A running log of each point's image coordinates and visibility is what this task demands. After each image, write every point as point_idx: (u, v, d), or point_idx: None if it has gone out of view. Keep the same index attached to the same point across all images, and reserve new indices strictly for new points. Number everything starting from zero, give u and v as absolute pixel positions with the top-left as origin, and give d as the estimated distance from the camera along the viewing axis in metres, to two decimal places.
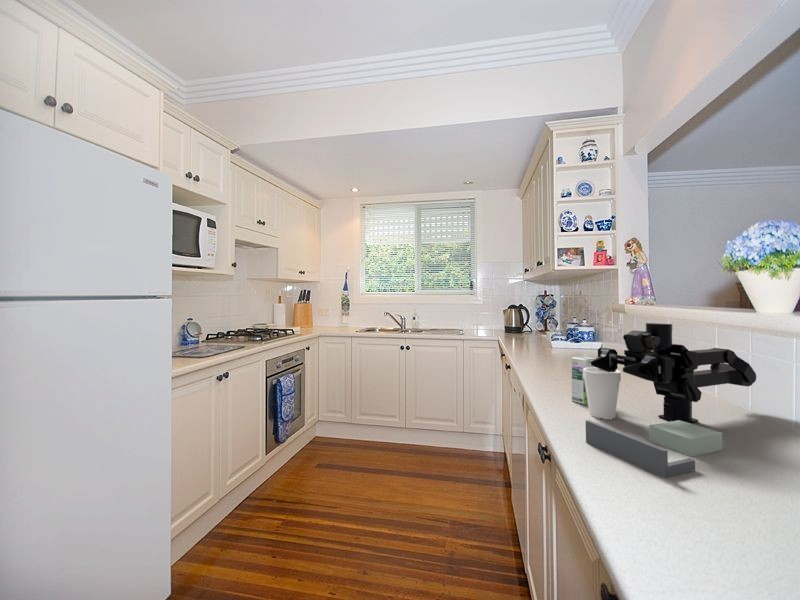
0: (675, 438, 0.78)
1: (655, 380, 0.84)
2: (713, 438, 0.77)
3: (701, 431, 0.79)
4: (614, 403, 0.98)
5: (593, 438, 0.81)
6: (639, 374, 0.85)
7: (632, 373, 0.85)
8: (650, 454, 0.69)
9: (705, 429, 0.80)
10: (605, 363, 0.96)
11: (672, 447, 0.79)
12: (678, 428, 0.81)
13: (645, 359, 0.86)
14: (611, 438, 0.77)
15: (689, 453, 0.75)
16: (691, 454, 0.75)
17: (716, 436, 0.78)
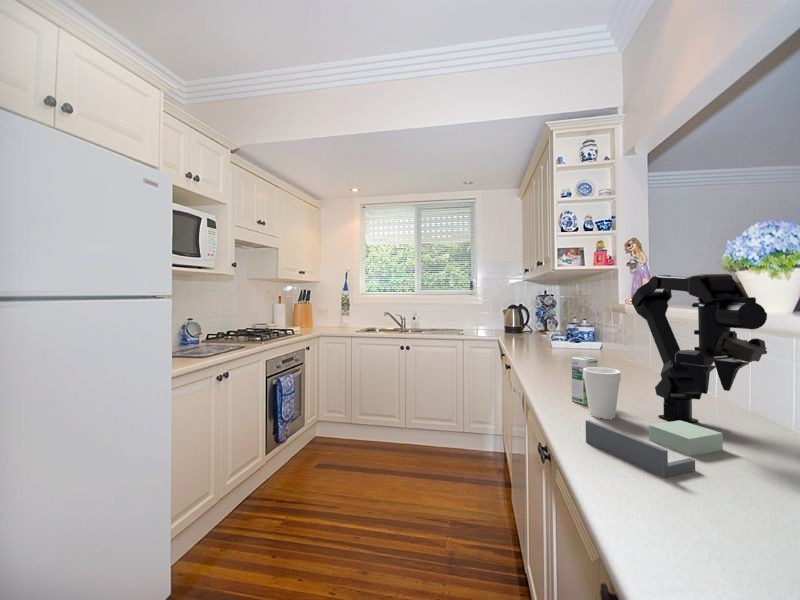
0: (674, 438, 0.78)
1: None
2: (713, 438, 0.77)
3: (701, 431, 0.79)
4: (614, 403, 0.98)
5: (593, 438, 0.81)
6: None
7: None
8: (650, 454, 0.69)
9: (705, 429, 0.80)
10: None
11: (671, 447, 0.79)
12: (678, 428, 0.81)
13: (740, 367, 0.84)
14: (611, 438, 0.77)
15: (688, 453, 0.75)
16: (690, 454, 0.75)
17: (716, 436, 0.78)
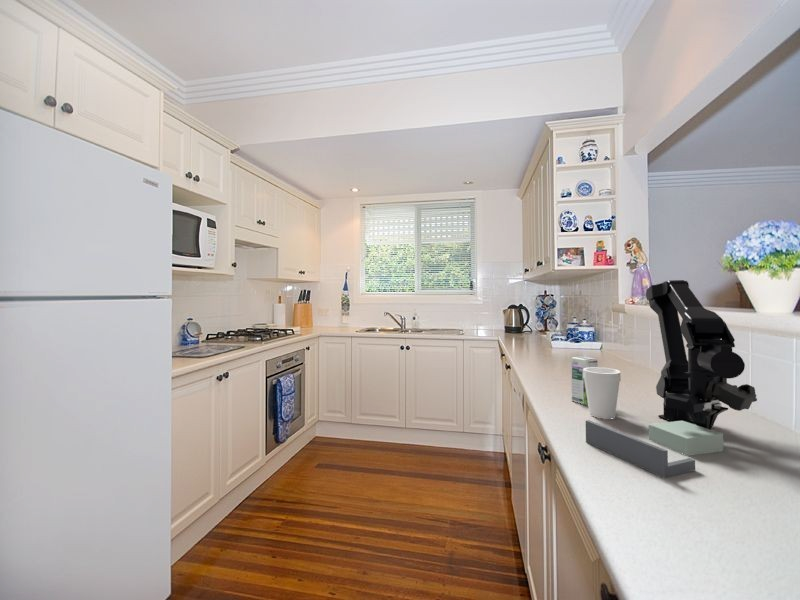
0: (673, 437, 0.78)
1: None
2: (712, 439, 0.77)
3: (701, 431, 0.79)
4: (614, 403, 0.98)
5: (593, 438, 0.81)
6: None
7: None
8: (650, 454, 0.69)
9: (706, 430, 0.80)
10: None
11: (670, 446, 0.79)
12: (678, 428, 0.81)
13: (719, 412, 0.81)
14: (611, 438, 0.77)
15: (685, 452, 0.76)
16: (687, 453, 0.75)
17: (716, 436, 0.77)
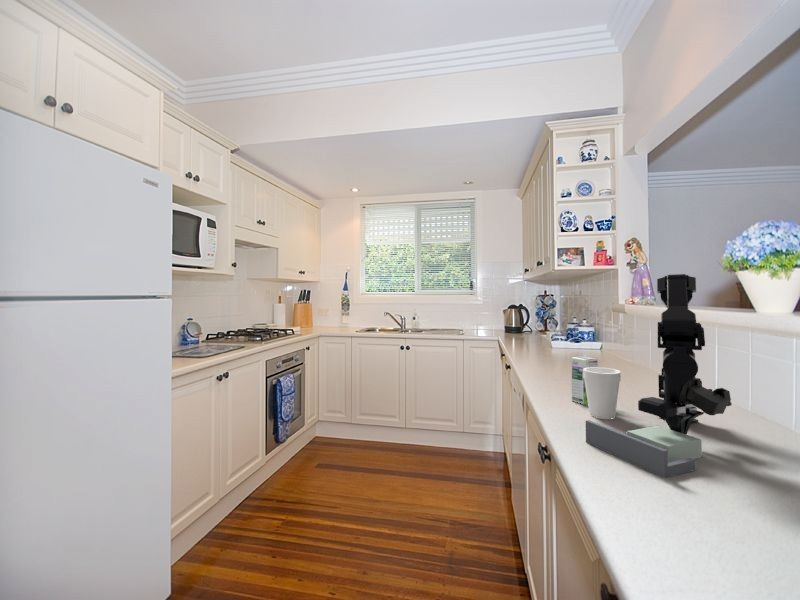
0: None
1: None
2: (692, 445, 0.74)
3: (680, 437, 0.76)
4: (614, 403, 0.98)
5: (593, 438, 0.81)
6: None
7: None
8: (650, 454, 0.69)
9: (684, 435, 0.77)
10: None
11: None
12: (657, 434, 0.78)
13: (694, 417, 0.79)
14: (611, 438, 0.77)
15: None
16: None
17: (695, 443, 0.74)
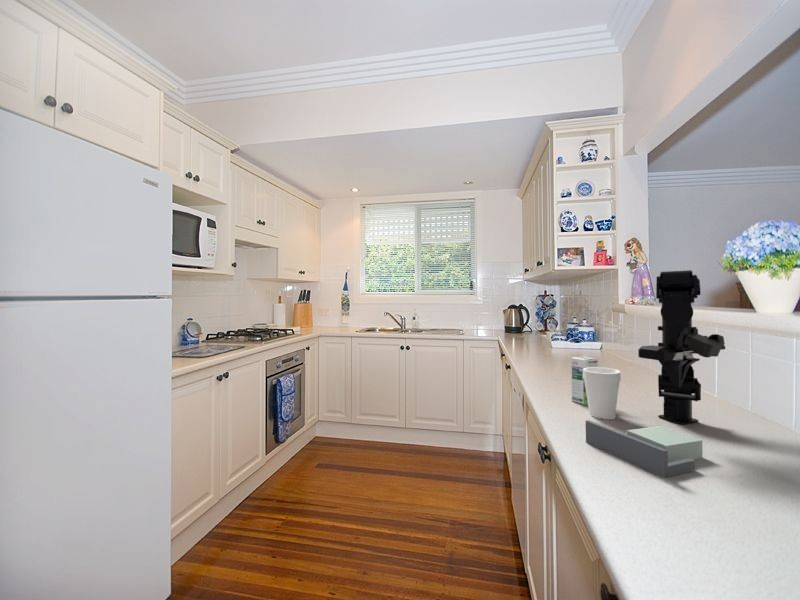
0: None
1: None
2: (692, 446, 0.74)
3: (680, 438, 0.76)
4: (614, 403, 0.98)
5: (593, 438, 0.81)
6: None
7: None
8: (650, 454, 0.69)
9: (685, 436, 0.77)
10: None
11: None
12: (657, 434, 0.78)
13: (690, 363, 0.84)
14: (611, 438, 0.77)
15: None
16: None
17: (695, 443, 0.74)
